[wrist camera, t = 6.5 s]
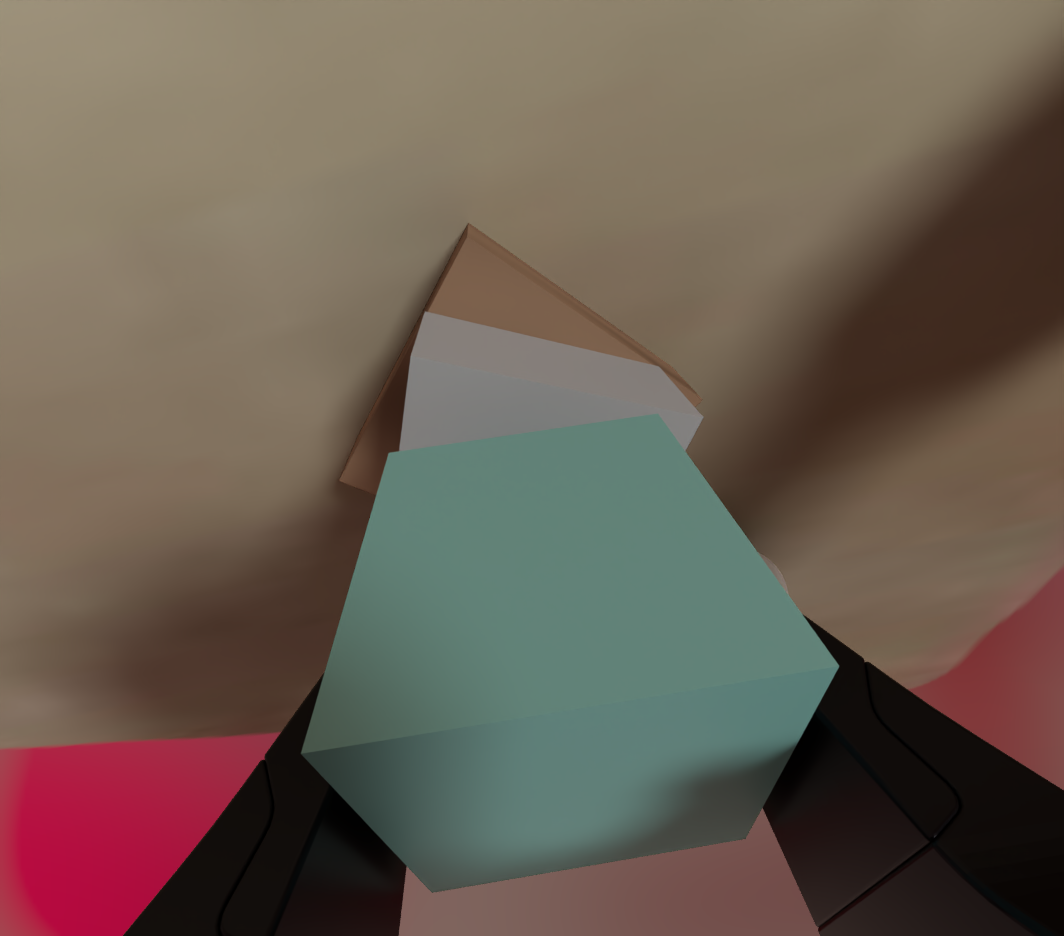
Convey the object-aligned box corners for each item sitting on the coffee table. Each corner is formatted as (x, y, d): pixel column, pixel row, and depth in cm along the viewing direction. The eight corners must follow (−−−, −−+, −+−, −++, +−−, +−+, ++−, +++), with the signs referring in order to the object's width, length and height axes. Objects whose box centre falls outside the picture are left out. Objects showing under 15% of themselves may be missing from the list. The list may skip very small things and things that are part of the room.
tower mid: (424, 311, 11) (410, 355, 9) (658, 366, 12) (703, 417, 10) (398, 509, 14) (383, 581, 12) (584, 533, 16) (603, 601, 14)
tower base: (469, 220, 13) (467, 236, 10) (667, 361, 16) (702, 399, 13) (359, 431, 16) (339, 481, 14) (540, 512, 19) (549, 564, 17)
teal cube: (388, 453, 8) (301, 752, 4) (657, 412, 8) (839, 665, 4) (448, 619, 11) (431, 892, 7) (646, 588, 11) (745, 838, 7)
